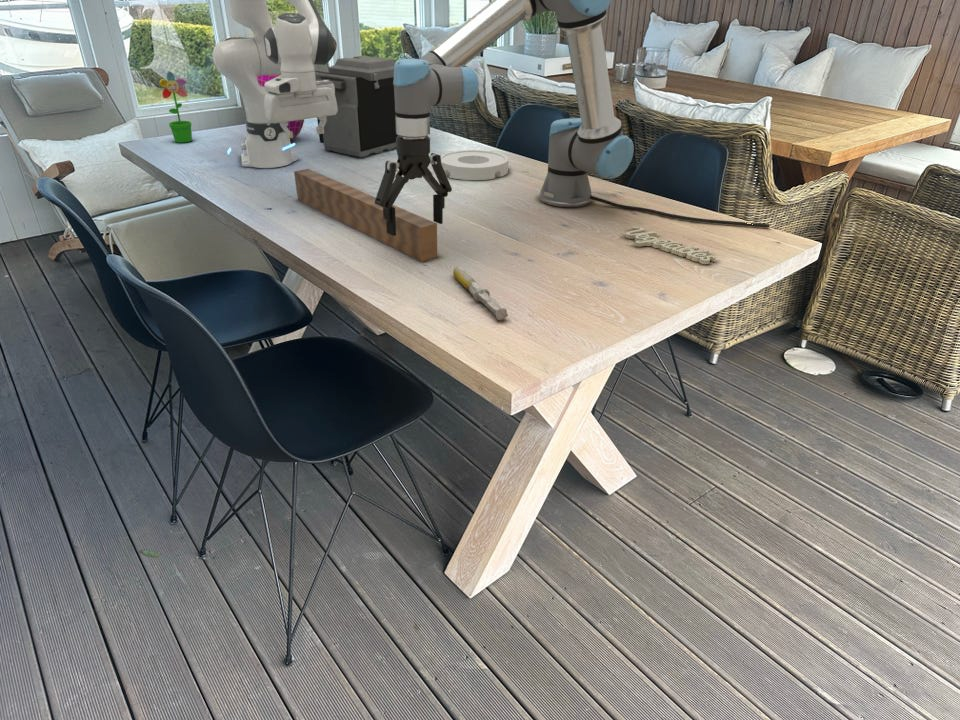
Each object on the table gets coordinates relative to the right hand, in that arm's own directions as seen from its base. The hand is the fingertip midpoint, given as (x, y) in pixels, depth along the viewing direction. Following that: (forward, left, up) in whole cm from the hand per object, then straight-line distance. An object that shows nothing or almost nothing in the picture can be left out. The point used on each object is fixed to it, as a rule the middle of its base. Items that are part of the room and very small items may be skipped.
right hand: (415, 228), depth 162 cm
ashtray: (+20, -73, -7) cm, 76 cm away
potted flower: (+136, -60, -7) cm, 149 cm away
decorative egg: (+103, -79, -7) cm, 130 cm away
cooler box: (+69, -87, -7) cm, 111 cm away
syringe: (-24, +15, -7) cm, 29 cm away
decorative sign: (-53, -31, -7) cm, 62 cm away
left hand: (+46, -21, +12) cm, 52 cm away
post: (+23, -11, -7) cm, 26 cm away
